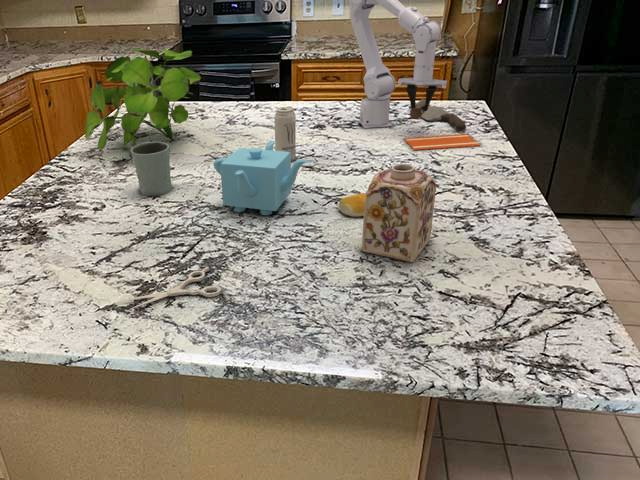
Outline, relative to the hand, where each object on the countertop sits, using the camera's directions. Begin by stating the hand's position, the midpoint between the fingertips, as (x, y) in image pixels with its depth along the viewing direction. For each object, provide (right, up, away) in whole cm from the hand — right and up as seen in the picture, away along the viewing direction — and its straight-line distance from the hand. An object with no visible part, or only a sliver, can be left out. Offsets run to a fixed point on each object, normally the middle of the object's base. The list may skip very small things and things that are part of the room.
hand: (419, 109), depth 194 cm
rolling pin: (0, 0, 0) cm, 0 cm away
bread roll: (-28, -39, -45) cm, 66 cm away
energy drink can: (-44, -19, -11) cm, 49 cm away
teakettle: (-52, -37, -40) cm, 75 cm away
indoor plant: (-88, -9, +9) cm, 88 cm away
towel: (+5, -12, -6) cm, 14 cm away
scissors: (-71, -60, -74) cm, 118 cm away
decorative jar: (-23, -49, -62) cm, 83 cm away
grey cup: (-81, -31, -26) cm, 90 cm away
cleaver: (+11, +1, +14) cm, 18 cm away
